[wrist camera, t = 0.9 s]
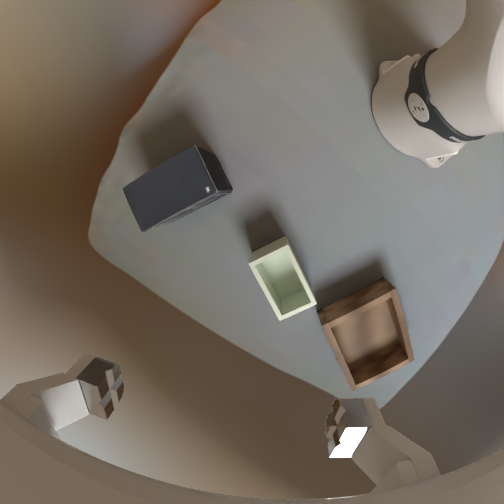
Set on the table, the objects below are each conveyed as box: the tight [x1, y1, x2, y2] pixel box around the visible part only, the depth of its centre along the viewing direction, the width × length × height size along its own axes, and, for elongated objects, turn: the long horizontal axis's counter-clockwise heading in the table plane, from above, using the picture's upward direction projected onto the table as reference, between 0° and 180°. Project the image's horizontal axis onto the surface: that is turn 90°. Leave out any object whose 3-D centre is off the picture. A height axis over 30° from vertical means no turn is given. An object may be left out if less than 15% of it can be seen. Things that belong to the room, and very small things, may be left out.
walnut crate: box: [317, 277, 414, 391], centre depth 40 cm, size 12×15×5 cm
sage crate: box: [249, 236, 317, 321], centre depth 38 cm, size 6×9×6 cm, turn 28°
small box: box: [123, 145, 233, 232], centre depth 34 cm, size 11×6×10 cm, turn 115°
